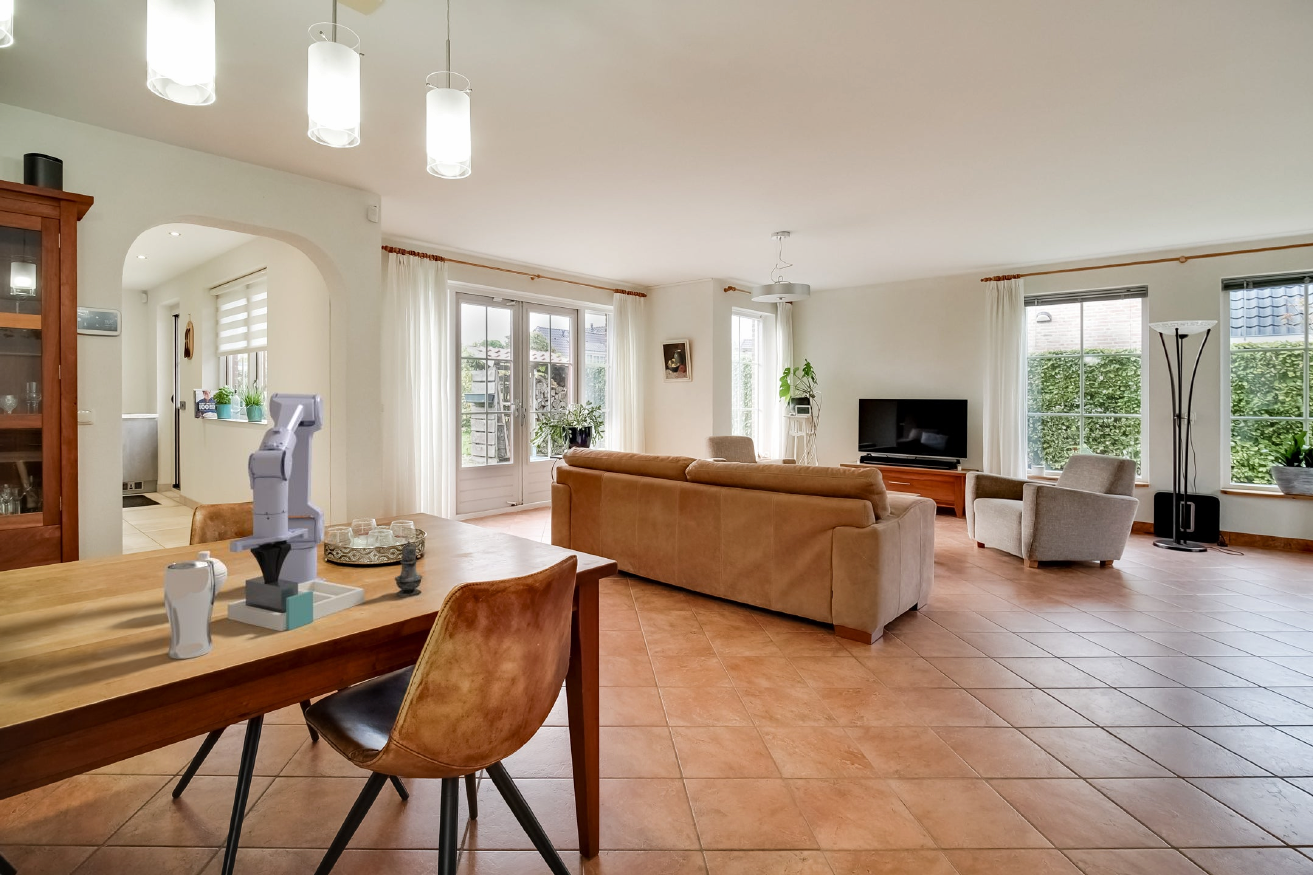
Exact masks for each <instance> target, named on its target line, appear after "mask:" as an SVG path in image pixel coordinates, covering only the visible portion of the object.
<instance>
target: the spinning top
mask: <svg viewBox="0 0 1313 875" xmlns="http://www.w3.org/2000/svg"><path fill="white" fill-rule="evenodd" d="M210 554H211V551H209V550H202V551H199V552H197V556H198V558H197V559H195V560H210V561H213V562H214V572H215V585H216V588H215V597H216V596H217V595H218V593H219V592H220V590H221V589H223V588H222V587H223V586H224V584H225V582H226V581H227V578H228V569H227V567H226V565H225V563H223V562H222V561H220V559H218V558H214V557H210Z"/></svg>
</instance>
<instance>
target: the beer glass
mask: <svg viewBox="0 0 1313 875" xmlns="http://www.w3.org/2000/svg"><path fill="white" fill-rule="evenodd" d="M164 569H165V571H164V581H163V582H164V584H163V598H164V605H165V606H164V607H165V611H166V615H167V619H168V623H169V628H170V643H169V648H168V655H167V657H168V658H169V659H173V660H174V659H175V660H186V659H193V658H197V657H200V656H203V655H206V654H208V653H210V652H212V650H213V649H214V644H213V639H212V635H211V622H212V621H211V620H212V617H213V610H214V605H215V598H216V596H215V588H216V585H215V572H214V562H213V561H210V560H196V559H192V560H183V561H179V562H178V561H177V562H173V563H171V564H168V565H166V566H165V567H164Z"/></svg>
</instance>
